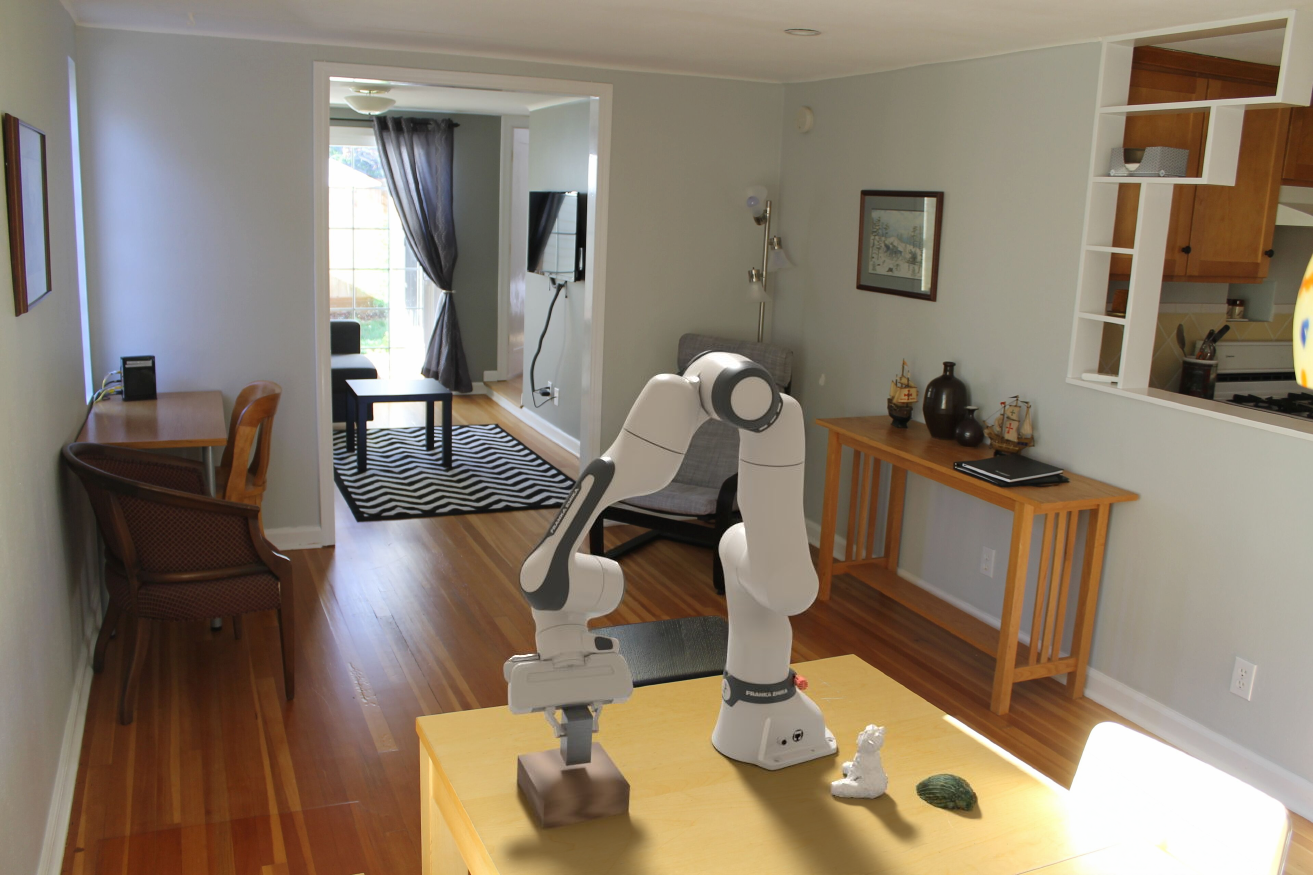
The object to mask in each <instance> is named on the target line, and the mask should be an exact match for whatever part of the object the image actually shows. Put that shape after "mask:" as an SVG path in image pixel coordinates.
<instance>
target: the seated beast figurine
mask: <svg viewBox="0 0 1313 875" xmlns="http://www.w3.org/2000/svg"><path fill="white" fill-rule="evenodd" d="M886 733H887V732H886V727H885V726H879V727H878V726H877V725H876V724H870V725H867V726H866V728H865V729H864V731H861V732H859V733H858V738H857V740H856V742H855V744H856V745H857V746H858V748H857V749H856V753H855V755H854V757H853V761H845V762H844V763H843V764H842V765H841V772H842V773H844V775H845V774H846V777H845V778H841V779H838V780H836V781H833V782H831V783H830V794H832V796H834V795H835V796H834V797H838V796H839V797H838V798H841V797H842V798H850V797H853V799H855V798H856V799H857V798H858V799H863V798H864V799H870V800H871V799H875V798H878V797H879V796H882V795H883V794H884V793H885V791H887V790H888V783H889V781H888V780H889V777H888V774H887V773H886V771H885V769H884V766H882V756H881V754H880V749H881V748H882V747H883V745H884V743H885V735H886Z"/></svg>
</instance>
